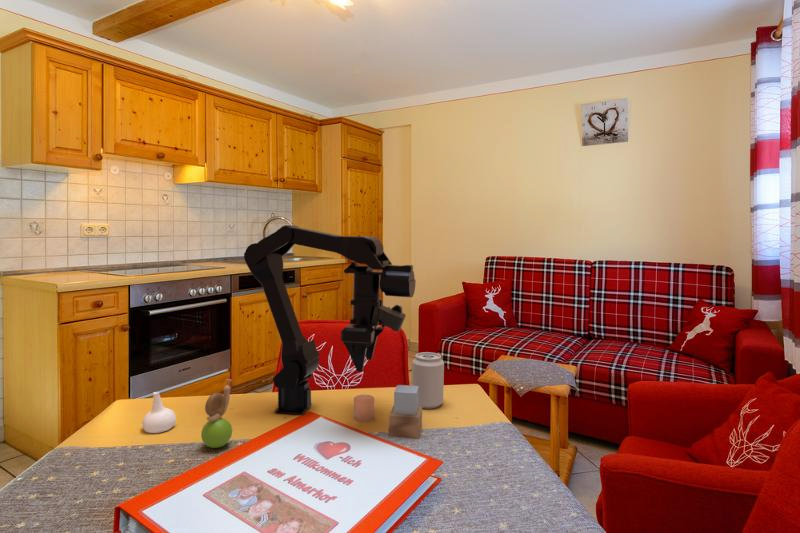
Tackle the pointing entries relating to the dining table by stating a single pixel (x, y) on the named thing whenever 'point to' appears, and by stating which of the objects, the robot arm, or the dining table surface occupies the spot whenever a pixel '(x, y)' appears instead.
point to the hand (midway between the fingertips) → (364, 365)
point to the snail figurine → (217, 420)
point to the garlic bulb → (158, 417)
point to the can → (428, 379)
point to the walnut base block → (405, 424)
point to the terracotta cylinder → (363, 408)
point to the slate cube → (406, 400)
